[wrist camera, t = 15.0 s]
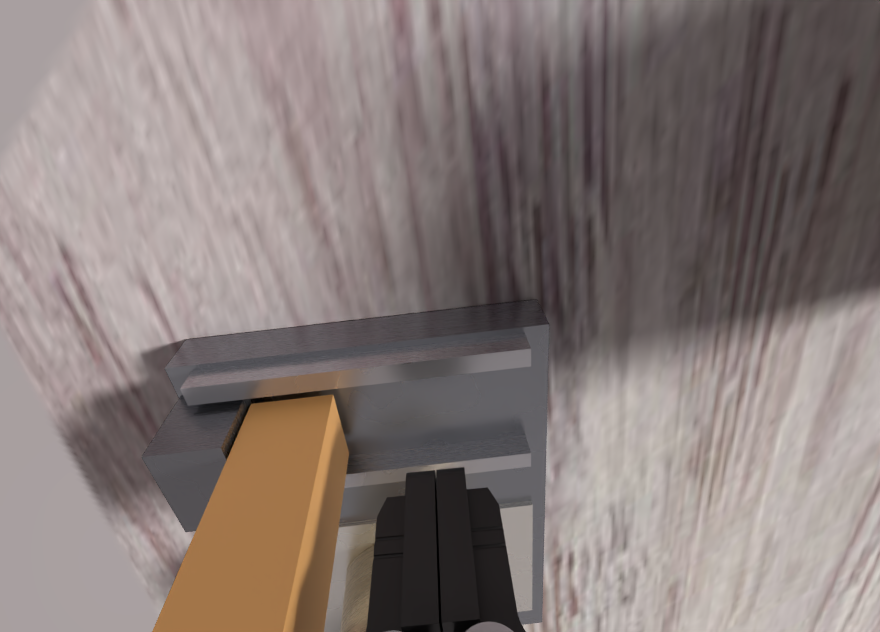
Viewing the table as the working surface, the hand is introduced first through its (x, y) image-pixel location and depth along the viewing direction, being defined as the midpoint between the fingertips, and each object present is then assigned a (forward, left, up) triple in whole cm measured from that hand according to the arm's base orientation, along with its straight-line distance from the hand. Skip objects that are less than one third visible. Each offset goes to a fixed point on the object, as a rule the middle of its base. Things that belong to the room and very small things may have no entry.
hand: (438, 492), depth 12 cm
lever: (0, -4, -3) cm, 5 cm away
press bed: (+5, -2, -5) cm, 7 cm away
